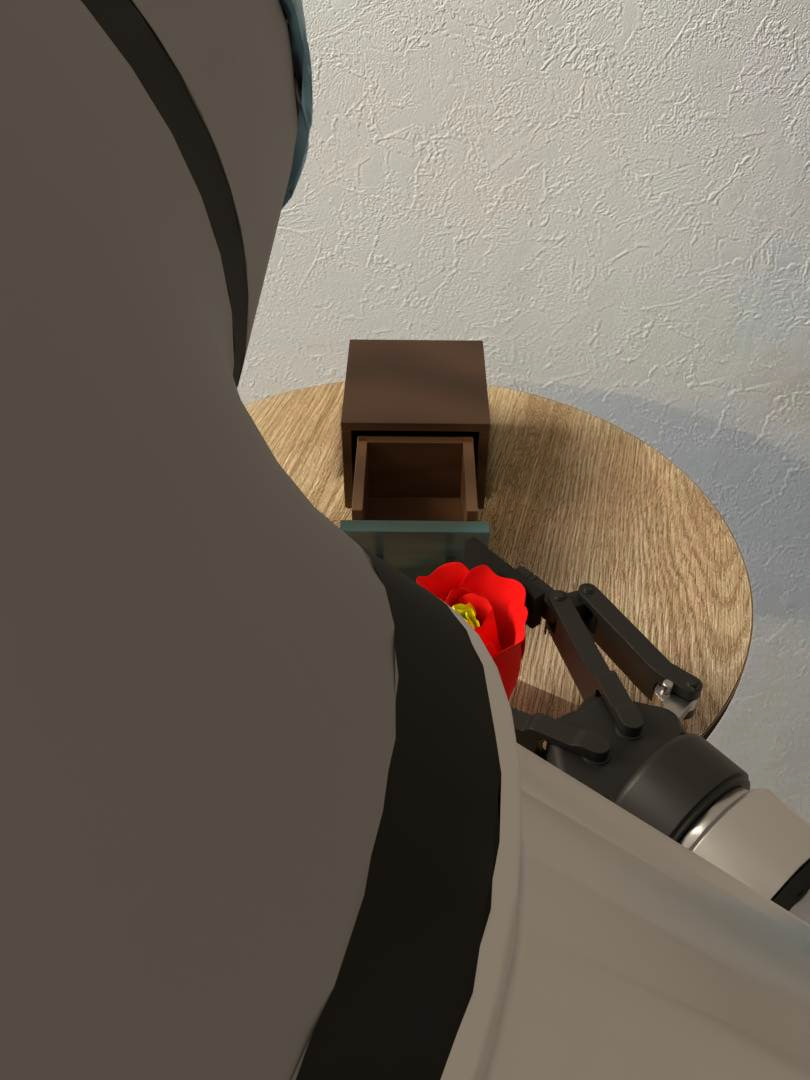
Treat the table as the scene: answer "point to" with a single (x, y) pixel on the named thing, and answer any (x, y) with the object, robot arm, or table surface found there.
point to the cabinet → (415, 397)
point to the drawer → (415, 501)
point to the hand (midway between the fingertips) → (416, 582)
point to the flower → (486, 611)
